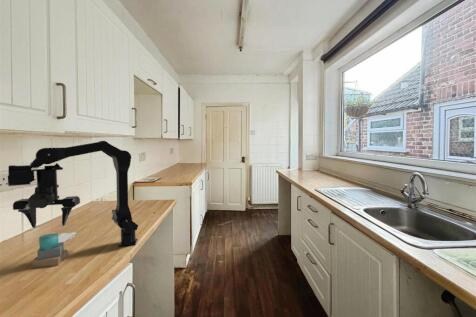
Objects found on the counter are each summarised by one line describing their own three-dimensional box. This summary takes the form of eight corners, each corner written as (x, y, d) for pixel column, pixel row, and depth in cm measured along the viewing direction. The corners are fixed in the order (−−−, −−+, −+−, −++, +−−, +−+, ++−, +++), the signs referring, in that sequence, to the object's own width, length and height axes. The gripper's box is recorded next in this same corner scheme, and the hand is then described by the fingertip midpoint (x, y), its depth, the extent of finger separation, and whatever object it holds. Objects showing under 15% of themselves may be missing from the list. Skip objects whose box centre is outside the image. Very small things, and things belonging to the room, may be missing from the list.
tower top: (42, 252, 94) (42, 244, 93) (63, 249, 96) (63, 241, 96) (37, 259, 88) (37, 251, 88) (60, 256, 90) (59, 248, 90)
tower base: (43, 259, 95) (43, 251, 95) (67, 257, 97) (67, 249, 96) (31, 269, 87) (31, 261, 87) (58, 266, 89) (58, 258, 89)
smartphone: (41, 246, 106) (61, 232, 120) (42, 248, 106) (61, 235, 121) (61, 244, 107) (78, 232, 121) (61, 247, 107) (78, 234, 122)
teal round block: (43, 245, 93) (42, 234, 93) (60, 243, 95) (60, 232, 94) (36, 251, 88) (36, 239, 88) (55, 249, 89) (54, 237, 89)
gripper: (0, 187, 80) (3, 236, 81) (67, 185, 84) (69, 231, 85) (21, 183, 91) (23, 226, 92) (79, 181, 95) (81, 222, 96)
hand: (49, 226), depth 91 cm, fingers open, 9 cm apart
